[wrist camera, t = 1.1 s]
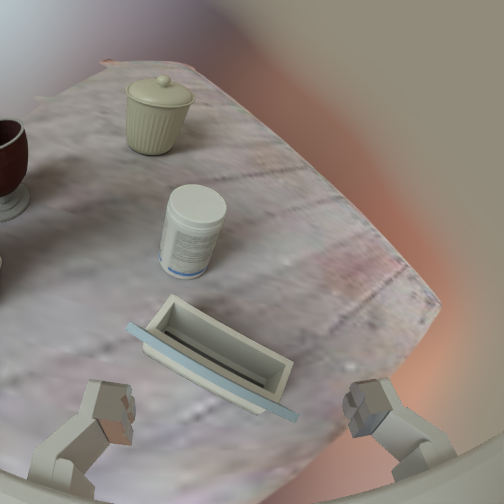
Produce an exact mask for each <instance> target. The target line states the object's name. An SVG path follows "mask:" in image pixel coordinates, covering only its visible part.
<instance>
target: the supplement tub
mask: <svg viewBox="0 0 504 504" xmlns="http://www.w3.org/2000/svg"><path fill="white" fill-rule="evenodd" d="M226 211H227V206H226V203H225V201H224V199H223V198H222V197H221V195H219V194H218V193H217V192H216V191H214V190H212V189H210V188H208V187H205V186H202V185H196V184H188V185H183V186H180V187H178V188H176V189H175V190H174V191H173V192H172V193H171V195H170V199H169V201H168V204H167V209H166V214H165V220H164V225H163V231H162V237H161V242H160V248H159V262H160V264H161V266H162V268H163V269H164V270H165V271H166V272H167V273H168V274H170V275H172V276H174V277H176V278H179V279H193V278H196V277H199V276H200V275H202V274H203V273H204V272H205V270H206V269H207V266H208V264H209V261H210V258H211V255H212V253H213V250H214V247H215V245H216V242H217V239H218V236H219V234H220V231H221V228H222V226H223V223H224V220H225V214H226Z"/></svg>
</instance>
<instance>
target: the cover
mask: <svg viewBox="0 0 504 504" xmlns="http://www.w3.org/2000/svg"><path fill="white" fill-rule="evenodd" d="M125 330H126V331H128V332H129V333H131V334H132V335H134V336H135V337H137V338H138V339H140V340H141V341H143V342H145V343H146V344H148V345H149V346H151V347H152V348H154V349H155V350H157V351H159V352H160V353H162V354H164V355H165V356H167V357H168V358H170V359H172V360H173V361H175V362H177V363H178V364H180V365H182V366H183V367H185V368H187V369H189V370H190V371H192V372H194V373H196V374H197V375H199V376H201V377H203V378H205V379H206V380H208V381H210V382H212V383H214V384H216V385H217V386H219V387H221V388H223V389H225V390H227V391H229V392H231V393H233V394H235V395H237V396H239V397H241V398H243V399H245V400H247V401H249V402H251V403H253V404H255V405H257V406H259V407H261V408H263V409H265V410H268V411H270V412H272V413H274V414H276V415H279V416H281V417H283V418H285V419H288V420H290V421H292V422H296V420H297V418H298V416H299V414H297V413H296V412H294V411H292V410H290V409H288V408H286V407H285V406H283V405H281V404H279V403H277V402H275V401H273V400H270V399H268V398H266V397H264V396H262V395H260V394H258V393H256V392H254V391H252V390H250V389H248V388H246V387H244V386H242V385H240V384H238V383H236V382H234V381H232V380H231V379H229V378H227V377H225V376H223V375H221V374H219V373H217V372H216V371H214V370H212V369H210V368H208V367H207V366H205V365H203V364H201V363H200V362H198V361H196V360H194V359H193V358H191V357H189V356H187V355H186V354H184V353H182V352H181V351H179V350H177V349H176V348H174V347H172V346H171V345H169V344H167V343H166V342H164V341H163V340H161V339H159V338H158V337H156V336H155V335H153V334H152V333H150V332H148V331H147V330H145V329H144V328H142V327H140V326H138V325H136V324H134V323H132V322H129V324H128V325H127V327H126V329H125Z"/></svg>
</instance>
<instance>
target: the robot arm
mask: <svg viewBox="0 0 504 504" xmlns="http://www.w3.org/2000/svg"><path fill="white" fill-rule="evenodd" d="M1 265H2V258H1V256H0V268H1ZM131 393H132V389H131V386H130V385H128V384H120V383H113V382H106V381H100V380H93V379H90V380H89V381H88V383H87V386H86V389H85V393H84V396H83V400H82V403H81V407H80V411H79V414H78V415H74V416H73V417H72V418H70V419H69V420H68V421H67V422H66V423H65V424H64V425H62V426H61V427H60V428H59V429H58V430H57V431H55V432H54V433H53V434H52V435H51V436H50V437H48V438H47V439H46V440H45V441H44V442H43V443H41V444H40V445H39V446H38V447H37V448H36V449H35V450H34V453H33V457H32V461H31V465H30V469H29V473H28V477H27V480H26V479H24V478H21V477H18V476H16V475H13V474H11V473H9V472H6V471H4V470H2V469H0V504H113V503H108V502H103V501H98V500H94V491H95V487H94V485H93V484H92V483H91V482H90V481H89V480H88V479H87V478H86V477H85V476H84V474H85V473H86V471H87V470H88V469H89V468H90V467H91V466H92V465H93V463H94V462H95V461H96V460H97V459H98V458H99V456H100V455H101V454H102V453H103V452H104V451H105V449H106V448H107V447H108V446H109V445H110V444H109V443H113V444H121V445H129V446H132V438H133V428H132V425H131V424H132V423H133V422H134V421H135V415H136V405H135V399H134V397H133V396H132V395H131ZM342 406H343V412H344V415H345V416H346V417H347V418H348V419H349V420H350V422H349V424H348V426H349V429H350V431H351V434H352V437H353V438H357V437H362V436H367V435H372V437H373V438H374V439H375V440H376V441H377V442H378V443H379V444H381V445H382V446H383V447H384V448H385V449H386V450H387V451H388V452H389V453H390V454H392V455H393V456H394V457H395V458H396V459H397V460H398V461H399V462H400V463H399V464H398V465H397V466H396V467H394V468H393V470H392V475H393V477H394V480H395V482H394V483H391V484H389V485H385V486H382V487H379V488H376V489H372V490H369V491H366V492H362V493H358V494H355V495H350V496H346V497H342V498H338V499H333V500H329V501H324V502H318V503H313V504H504V431H503V432H501V433H499V434H498V435H496V436H494V437H493V438H491V439H489V440H488V441H486V442H484V443H483V444H480V445H479V446H477V447H475V448H473V449H471V450H469V451H467V452H465V453H463V454H461V455H459V456H457V454H456V452H455V450H454V448H453V446H452V444H451V442H450V440H449V438H448V436H447V434H446V433H445V432H443V431H442V430H440V429H439V428H437V427H436V426H434V425H433V424H431V423H430V422H428V421H427V420H425V419H424V418H422V417H421V416H419V415H418V414H416V413H415V412H414V411H412V410H411V409H409V408H408V407H403V405H402V402H401V400H400V398H399V396H398V395H397V393H396V391H395V389H394V387H393V385H392V383H391V381H390V379H388V378H379V379H371V380H365V381H359V382H354V383H352V384H351V386H350V392H349V393H347V394H346V395H345V397H344V399H343V405H342Z"/></svg>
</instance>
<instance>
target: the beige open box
mask: <svg viewBox="0 0 504 504" xmlns="http://www.w3.org/2000/svg"><path fill="white" fill-rule="evenodd" d="M145 330H147V331H148V332H150V333H152V334H153V335H155V336H156V337H158V338H159V339H161V340H163V341H164V342H166V343H167V344H169V345H171V346H172V347H174V348H176V349H177V350H179V351H181V352H182V353H184V354H186V355H187V356H189V357H191V358H193V359H194V360H196V361H198V362H200V363H201V364H203V365H205V366H207V367H208V368H210V369H212V370H214V371H216V372H217V373H219V374H221V375H223V376H225V377H227V378H229V379H231V380H232V381H234V382H236V383H238V384H240V385H242V386H244V387H246V388H248V389H250V390H252V391H254V392H256V393H258V394H260V395H262V396H264V397H266V398H268V399H270V400H273V401H275V402H277V403H279V401H280V399H281V396H282V394H283V391H284V388H285V386H286V383H287V380H288V377H289V375H290V372H291V369H292V366H293V364H294V362H293V361H291V360H289V359H287V358H285V357H283V356H281V355H279V354H277V353H275V352H273V351H272V350H270V349H268V348H266V347H264V346H262V345H260V344H258V343H256V342H255V341H253V340H251V339H249V338H247V337H245V336H244V335H242V334H240V333H238V332H236V331H235V330H233V329H231V328H229V327H227V326H226V325H224V324H222V323H220V322H219V321H217V320H215V319H213V318H212V317H210V316H208V315H207V314H205V313H203V312H201V311H200V310H198V309H196V308H195V307H193V306H191V305H190V304H188V303H186V302H185V301H183V300H181V299H180V298H178V297H176V296H175V295H173V294H171V295H170V297H169V298H168V299H167V301H166V302H165V303H164V305H163V306H162V307H161V309H160V310H159V311H158V313H157V314H156V315H155V317H154V318H153V319H152V321H151V322H150V323H149V325H148V326H147V328H146V329H145ZM143 352H144V353H145V354H147V355H148V356H150V357H152V358H153V359H155V360H156V361H158V362H160V363H161V364H163V365H164V366H166V367H168V368H169V369H171V370H173V371H174V372H176V373H178V374H179V375H181V376H183V377H185V378H186V379H188V380H190V381H192V382H193V383H195V384H197V385H199V386H201V387H202V388H204V389H206V390H208V391H210V392H212V393H214V394H215V395H217V396H219V397H221V398H223V399H225V400H227V401H229V402H231V403H233V404H235V405H237V406H239V407H241V408H243V409H245V410H247V411H249V412H251V413H253V414H256V415H259V414H260V413H262V412H264V411H266V410H265V409H263V408H261V407H259V406H257V405H255V404H253V403H251V402H249V401H247V400H245V399H243V398H241V397H239V396H237V395H235V394H233V393H231V392H229V391H227V390H225V389H223V388H221V387H219V386H217V385H216V384H214V383H212V382H210V381H208V380H206V379H205V378H203V377H201V376H199V375H197V374H196V373H194V372H192V371H190V370H189V369H187V368H185V367H183V366H182V365H180V364H178V363H177V362H175V361H173V360H172V359H170V358H168V357H167V356H165V355H164V354H162V353H160V352H159V351H157V350H155V349H154V348H152V347H151V346H149V345H148V344H146V343H145V342H144V344H143Z"/></svg>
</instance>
